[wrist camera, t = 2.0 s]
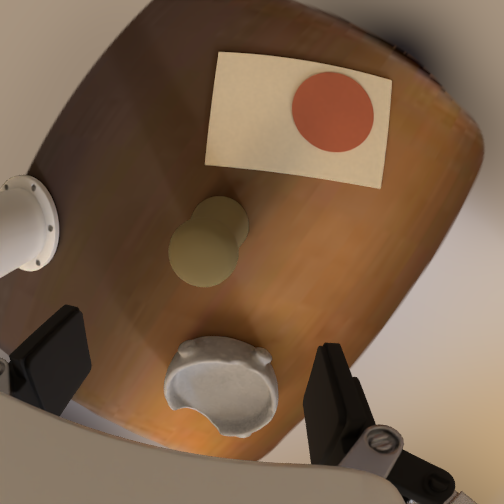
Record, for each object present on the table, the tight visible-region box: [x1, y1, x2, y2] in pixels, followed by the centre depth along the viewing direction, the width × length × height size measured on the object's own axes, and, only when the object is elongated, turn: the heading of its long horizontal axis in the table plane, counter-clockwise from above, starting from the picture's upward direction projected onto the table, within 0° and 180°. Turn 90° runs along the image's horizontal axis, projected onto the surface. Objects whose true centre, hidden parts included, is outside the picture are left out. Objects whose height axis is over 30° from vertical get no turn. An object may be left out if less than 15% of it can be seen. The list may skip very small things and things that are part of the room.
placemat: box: [205, 52, 392, 189], centre depth 28 cm, size 18×12×1 cm, turn 84°
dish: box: [164, 336, 278, 438], centre depth 35 cm, size 14×14×5 cm
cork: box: [168, 196, 249, 287], centre depth 26 cm, size 6×6×11 cm
